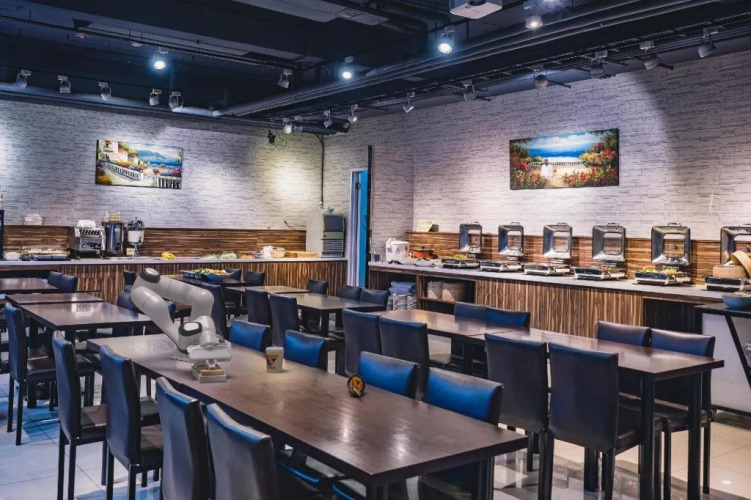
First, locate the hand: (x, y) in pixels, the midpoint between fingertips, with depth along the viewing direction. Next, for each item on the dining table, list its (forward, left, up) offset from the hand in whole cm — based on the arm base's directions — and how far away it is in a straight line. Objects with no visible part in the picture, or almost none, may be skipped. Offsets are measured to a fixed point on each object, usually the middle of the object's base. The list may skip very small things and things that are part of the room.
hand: (212, 368), depth 324 cm
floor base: (-7, +7, -6) cm, 12 cm away
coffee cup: (+15, +33, -6) cm, 37 cm away
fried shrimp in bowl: (+72, +5, -6) cm, 72 cm away
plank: (-2, +2, -3) cm, 4 cm away
